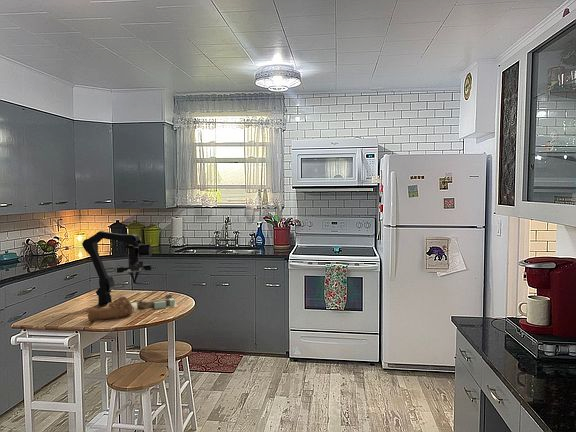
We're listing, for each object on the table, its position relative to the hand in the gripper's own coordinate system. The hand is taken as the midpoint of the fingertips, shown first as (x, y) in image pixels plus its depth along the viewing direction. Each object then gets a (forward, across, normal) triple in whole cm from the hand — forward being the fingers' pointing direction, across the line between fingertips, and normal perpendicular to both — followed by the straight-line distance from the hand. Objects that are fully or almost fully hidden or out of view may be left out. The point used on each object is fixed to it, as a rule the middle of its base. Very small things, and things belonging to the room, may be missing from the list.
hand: (134, 283), depth 270 cm
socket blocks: (+11, +14, -18) cm, 25 cm away
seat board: (+12, +9, -12) cm, 19 cm away
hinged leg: (+11, +8, -17) cm, 22 cm away
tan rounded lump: (+12, -14, -28) cm, 33 cm away
